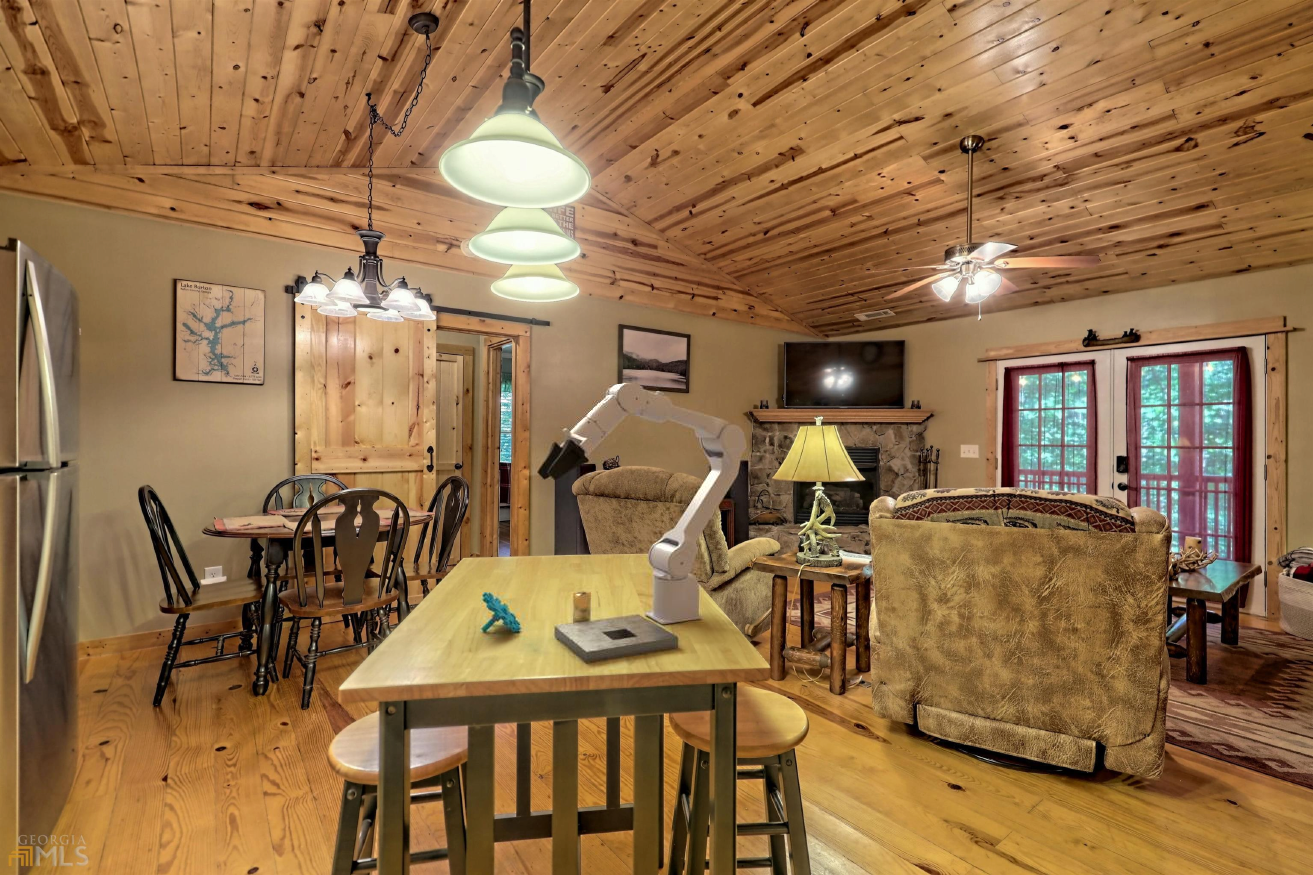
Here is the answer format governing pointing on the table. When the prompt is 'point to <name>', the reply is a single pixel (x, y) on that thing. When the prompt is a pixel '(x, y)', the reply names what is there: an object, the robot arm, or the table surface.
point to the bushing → (581, 606)
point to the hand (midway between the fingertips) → (545, 476)
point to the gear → (499, 613)
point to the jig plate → (614, 638)
